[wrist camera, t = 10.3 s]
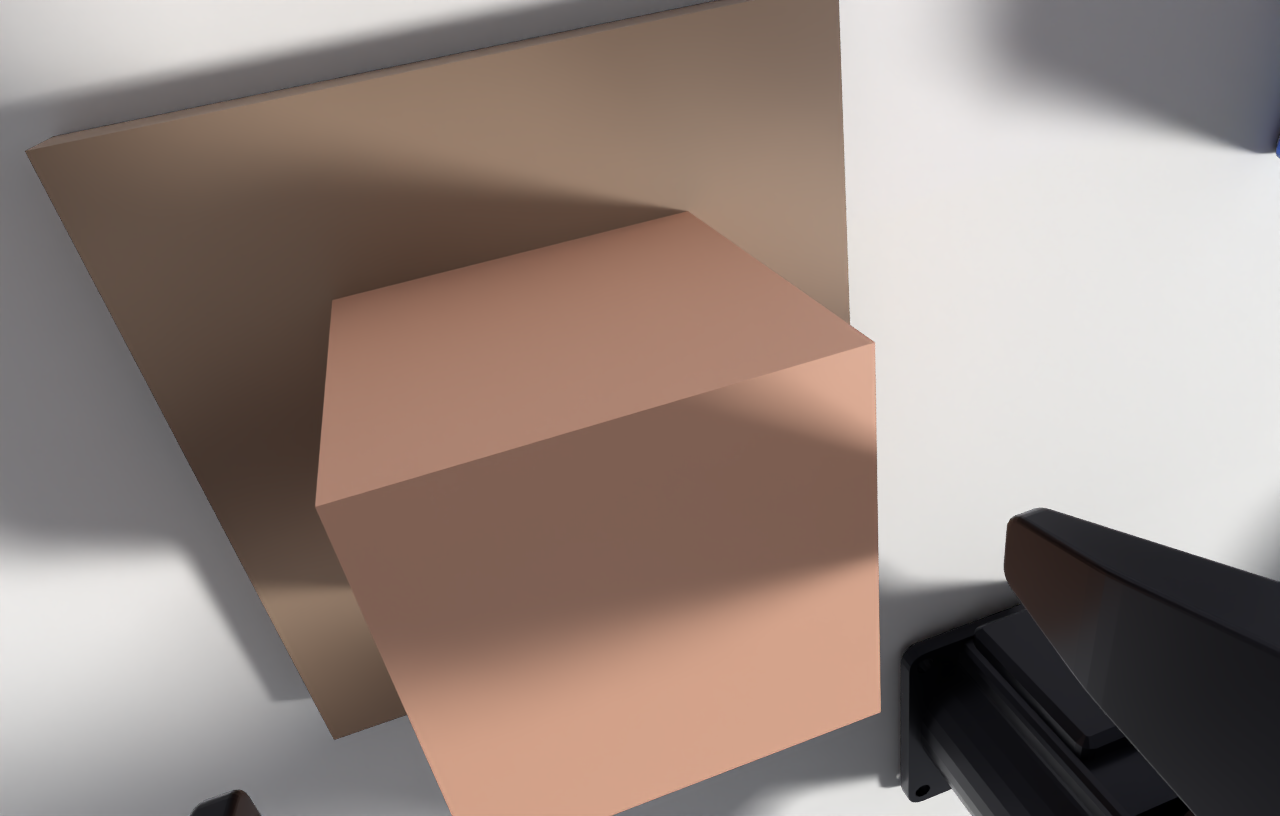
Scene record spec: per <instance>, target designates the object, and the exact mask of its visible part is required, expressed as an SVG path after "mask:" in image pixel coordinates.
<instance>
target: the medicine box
mask: <svg viewBox="0 0 1280 816" xmlns="http://www.w3.org/2000/svg"><path fill="white" fill-rule="evenodd" d="M1276 154H1277V156H1278V157H1279V158H1280V136H1279V139H1278V142H1277V147H1276Z"/></svg>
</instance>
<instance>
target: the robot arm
mask: <svg viewBox="0 0 1280 816" xmlns="http://www.w3.org/2000/svg"><path fill="white" fill-rule="evenodd" d="M1004 573H1005V577H1006V580H1007V582H1008V584H1009V586H1010V587H1011V589H1012V590H1013V592H1014V593H1015V595H1016V596H1017V597H1018V599H1019V600H1020V602H1021V603H1022V604H1021V605H1018V606H1015V607H1013V608H1010V609H1007V610H1005V611H1002V612H999V613H997V614H994V615H991V616H989V617H986V618H983V619H980V620H978V621H975V622H972V623H970V624H967V625H964V626H962V627H959V628H956V629H954V630H951V631H948V632H946V633H943V634H940V635H937V636H935V637H932V638H929V639H927V640H924V641H921V642H919V643H916V644H914V645H913V646H911V647H910V648H909V649H907V650H906V651H905V653H904V655H903V656H902V660H901V787H902V790H903V791H904V793H905V794H906V796H907V797H908V799H909V800H910V801H912V802H920V801H923V800H926V799H928V798H931V797H933V796H936V795H938V794H940V793H943V792H945V791H948V790H950V789H953V791H954V792H955V793H956V795H957V796H958V797H959V799H960V800H961V802H962V803H963V804H964V806H965V807H966V808H967V810H968V811H969V812H970V814H971V815H972V816H1280V582H1278V581H1275V580H1272V579H1269V578H1266V577H1263V576H1259V575H1256V574H1253V573H1250V572H1247V571H1244V570H1240V569H1237V568H1234V567H1231V566H1228V565H1225V564H1221V563H1218V562H1215V561H1212V560H1209V559H1206V558H1203V557H1199V556H1196V555H1193V554H1190V553H1187V552H1184V551H1180V550H1177V549H1174V548H1171V547H1168V546H1165V545H1161V544H1158V543H1155V542H1152V541H1149V540H1146V539H1142V538H1139V537H1136V536H1133V535H1130V534H1127V533H1123V532H1120V531H1117V530H1114V529H1111V528H1108V527H1104V526H1101V525H1098V524H1095V523H1092V522H1089V521H1086V520H1082V519H1079V518H1076V517H1073V516H1070V515H1067V514H1063V513H1060V512H1057V511H1054V510H1051V509H1047V508H1035V509H1032V510H1030V511H1027V512H1024V513H1021V514H1018V515H1015V516H1013V517H1012V518H1011V519H1010V521H1009V522H1008V524H1007V531H1006V543H1005V555H1004ZM190 816H261V814H260V813H259V811H258V810H257V808H256V806H255V805H254V803H253V802H252V800H251V799H250V797H249V796H248V795H247V794H246V793H245V792H244V791H242V790H233V791H230V792H227V793H224V794H222V795H219V796H216V797H213V798H210V799H207V800H205V801H203V802H201V803H200V804H198V805H197V806H196V808H195V809H194V810H193V811H192V812H191V814H190Z"/></svg>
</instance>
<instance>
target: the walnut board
mask: <svg viewBox="0 0 1280 816" xmlns="http://www.w3.org/2000/svg"><path fill="white" fill-rule="evenodd" d="M25 152H26V154H27V156H28V158H29V160H30V162H31V164H32V165H33V167H34V169H35V171H36V173H37V175H38V177H39V179H40V181H41V183H42V185H43V186H44V188H45V190H46V192H47V194H48V196H49V198H50V200H51V202H52V204H53V205H54V207H55V209H56V211H57V213H58V215H59V217H60V219H61V221H62V223H63V225H64V226H65V228H66V230H67V232H68V234H69V236H70V238H71V240H72V242H73V244H74V245H75V247H76V249H77V251H78V253H79V255H80V257H81V259H82V261H83V263H84V265H85V266H86V268H87V270H88V272H89V274H90V276H91V278H92V280H93V282H94V284H95V285H96V287H97V289H98V291H99V293H100V295H101V297H102V299H103V301H104V303H105V305H106V306H107V308H108V310H109V312H110V314H111V316H112V318H113V320H114V322H115V324H116V325H117V327H118V329H119V331H120V333H121V335H122V337H123V339H124V341H125V343H126V345H127V346H128V348H129V350H130V352H131V354H132V356H133V358H134V360H135V362H136V364H137V366H138V367H139V369H140V371H141V373H142V375H143V377H144V379H145V381H146V383H147V385H148V386H149V388H150V390H151V392H152V394H153V396H154V398H155V400H156V402H157V404H158V406H159V407H160V409H161V411H162V413H163V415H164V417H165V419H166V421H167V423H168V425H169V426H170V428H171V430H172V432H173V434H174V436H175V438H176V440H177V442H178V444H179V446H180V447H181V449H182V451H183V453H184V455H185V457H186V459H187V461H188V463H189V465H190V466H191V468H192V470H193V472H194V474H195V476H196V478H197V480H198V482H199V484H200V486H201V487H202V489H203V491H204V493H205V495H206V497H207V499H208V501H209V503H210V505H211V506H212V508H213V510H214V512H215V514H216V516H217V518H218V520H219V522H220V524H221V526H222V527H223V529H224V531H225V533H226V535H227V537H228V539H229V541H230V543H231V545H232V546H233V548H234V550H235V552H236V554H237V556H238V558H239V560H240V562H241V564H242V566H243V567H244V569H245V571H246V573H247V575H248V577H249V579H250V581H251V583H252V585H253V586H254V588H255V590H256V592H257V594H258V596H259V598H260V600H261V602H262V604H263V606H264V607H265V609H266V611H267V613H268V615H269V617H270V619H271V621H272V623H273V625H274V626H275V628H276V630H277V632H278V634H279V636H280V638H281V640H282V642H283V644H284V646H285V647H286V649H287V651H288V653H289V655H290V657H291V659H292V661H293V663H294V665H295V667H296V668H297V670H298V672H299V674H300V676H301V678H302V680H303V682H304V684H305V686H306V687H307V689H308V691H309V693H310V695H311V697H312V699H313V701H314V703H315V705H316V707H317V708H318V710H319V712H320V714H321V716H322V718H323V720H324V722H325V724H326V726H327V727H328V729H329V731H330V733H331V735H332V737H333V739H334V740H335V739H338V738H341V737H344V736H347V735H350V734H353V733H356V732H359V731H361V730H364V729H367V728H370V727H373V726H376V725H379V724H382V723H385V722H387V721H390V720H393V719H396V718H399V717H402V716H405V715H407V713H406V711H405V709H404V706H403V704H402V702H401V700H400V697H399V695H398V693H397V691H396V688H395V686H394V684H393V682H392V679H391V677H390V675H389V673H388V670H387V668H386V666H385V664H384V661H383V659H382V657H381V655H380V652H379V650H378V648H377V646H376V643H375V641H374V639H373V636H372V634H371V632H370V630H369V627H368V625H367V623H366V621H365V618H364V616H363V614H362V612H361V609H360V607H359V605H358V603H357V600H356V598H355V596H354V594H353V591H352V589H351V587H350V585H349V582H348V580H347V578H346V576H345V573H344V571H343V569H342V567H341V564H340V562H339V560H338V558H337V555H336V553H335V551H334V549H333V546H332V544H331V542H330V540H329V537H328V535H327V533H326V531H325V528H324V526H323V524H322V522H321V519H320V517H319V515H318V513H317V510H316V508H315V501H316V489H317V477H318V465H319V453H320V441H321V429H322V417H323V405H324V393H325V381H326V369H327V357H328V345H329V333H330V321H331V309H332V300H335V299H339V298H343V297H347V296H351V295H355V294H359V293H363V292H367V291H371V290H375V289H379V288H383V287H387V286H391V285H395V284H399V283H402V282H406V281H410V280H414V279H418V278H422V277H426V276H430V275H434V274H438V273H442V272H446V271H450V270H454V269H458V268H462V267H466V266H470V265H474V264H478V263H482V262H486V261H490V260H494V259H498V258H502V257H506V256H510V255H514V254H518V253H522V252H526V251H530V250H534V249H538V248H542V247H546V246H550V245H554V244H558V243H562V242H566V241H570V240H574V239H578V238H582V237H586V236H590V235H594V234H598V233H602V232H606V231H610V230H614V229H618V228H622V227H626V226H630V225H634V224H638V223H642V222H646V221H650V220H654V219H658V218H662V217H666V216H670V215H674V214H678V213H682V212H686V211H688V212H690V213H691V214H693V215H694V216H696V217H697V218H698V219H700V220H701V221H703V222H704V223H706V224H707V225H708V226H710V227H711V228H713V229H714V230H716V231H717V232H718V233H720V234H721V235H723V236H724V237H725V238H727V239H728V240H730V241H731V242H733V243H734V244H735V245H737V246H738V247H740V248H741V249H743V250H744V251H745V252H747V253H748V254H750V255H751V256H753V257H754V258H755V259H757V260H758V261H760V262H761V263H762V264H764V265H765V266H767V267H768V268H770V269H771V270H772V271H774V272H775V273H777V274H778V275H780V276H781V277H782V278H784V279H785V280H787V281H788V282H790V283H791V284H792V285H794V286H795V287H797V288H798V289H800V290H801V291H802V292H804V293H805V294H807V295H808V296H809V297H811V298H812V299H814V300H815V301H817V302H818V303H819V304H821V305H822V306H824V307H825V308H827V309H828V310H829V311H831V312H832V313H834V314H835V315H837V316H838V317H839V318H841V319H842V320H844V321H845V322H846V323H848V324H849V325H850V312H849V283H848V254H847V225H846V196H845V167H844V138H843V109H842V80H841V51H840V22H839V0H716V1H711V2H706V3H702V4H697V5H692V6H687V7H682V8H677V9H672V10H668V11H663V12H658V13H653V14H648V15H643V16H638V17H633V18H629V19H624V20H619V21H614V22H609V23H604V24H599V25H594V26H590V27H585V28H580V29H575V30H570V31H565V32H560V33H555V34H551V35H546V36H541V37H536V38H531V39H526V40H521V41H516V42H512V43H507V44H502V45H497V46H492V47H487V48H482V49H477V50H473V51H468V52H463V53H458V54H453V55H448V56H443V57H438V58H434V59H429V60H424V61H419V62H414V63H409V64H404V65H399V66H395V67H390V68H385V69H380V70H375V71H370V72H365V73H360V74H356V75H351V76H346V77H341V78H336V79H331V80H326V81H321V82H317V83H312V84H307V85H302V86H297V87H292V88H287V89H282V90H278V91H273V92H268V93H263V94H258V95H253V96H248V97H243V98H239V99H234V100H229V101H224V102H219V103H214V104H209V105H204V106H200V107H195V108H190V109H185V110H180V111H175V112H170V113H165V114H161V115H156V116H151V117H146V118H141V119H136V120H131V121H126V122H122V123H117V124H112V125H107V126H102V127H97V128H92V129H88V130H83V131H78V132H73V133H68V134H63V135H58V136H53V137H51V138H49V139H48V140H46V141H44V142H42V143H40V144H38V145H36V146H34V147H32V148H30V149H28V150H26V151H25Z"/></svg>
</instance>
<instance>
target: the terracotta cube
mask: <svg viewBox="0 0 1280 816" xmlns="http://www.w3.org/2000/svg"><path fill="white" fill-rule="evenodd" d="M315 508H316V510H317V513H318V515H319V517H320V519H321V522H322V524H323V526H324V528H325V531H326V533H327V535H328V537H329V540H330V542H331V544H332V546H333V549H334V551H335V553H336V555H337V558H338V560H339V562H340V564H341V567H342V569H343V571H344V573H345V576H346V578H347V580H348V582H349V585H350V587H351V589H352V591H353V594H354V596H355V598H356V600H357V603H358V605H359V607H360V609H361V612H362V614H363V616H364V618H365V621H366V623H367V625H368V627H369V630H370V632H371V634H372V636H373V639H374V641H375V643H376V646H377V648H378V650H379V652H380V655H381V657H382V659H383V661H384V664H385V666H386V668H387V670H388V673H389V675H390V677H391V679H392V682H393V684H394V686H395V688H396V691H397V693H398V695H399V697H400V700H401V702H402V704H403V706H404V709H405V711H406V713H407V715H408V718H409V720H410V722H411V724H412V727H413V729H414V731H415V733H416V736H417V738H418V740H419V742H420V745H421V747H422V749H423V751H424V754H425V756H426V758H427V760H428V763H429V765H430V767H431V769H432V772H433V774H434V776H435V778H436V781H437V783H438V785H439V787H440V790H441V792H442V794H443V797H444V799H445V801H446V803H447V806H448V808H449V810H450V812H451V815H452V816H612V815H614V814H617V813H620V812H622V811H625V810H627V809H630V808H633V807H635V806H638V805H640V804H643V803H646V802H648V801H651V800H653V799H656V798H659V797H661V796H664V795H666V794H669V793H672V792H674V791H677V790H680V789H682V788H685V787H687V786H690V785H693V784H695V783H698V782H700V781H703V780H706V779H708V778H711V777H713V776H716V775H719V774H721V773H724V772H726V771H729V770H732V769H734V768H737V767H739V766H742V765H745V764H747V763H750V762H752V761H755V760H758V759H760V758H763V757H765V756H768V755H771V754H773V753H776V752H778V751H781V750H784V749H786V748H789V747H791V746H794V745H797V744H799V743H802V742H805V741H807V740H810V739H812V738H815V737H818V736H820V735H823V734H825V733H828V732H831V731H833V730H836V729H838V728H841V727H844V726H846V725H849V724H851V723H854V722H857V721H859V720H862V719H864V718H867V717H870V716H872V715H875V714H877V713H880V712H881V690H880V628H879V566H878V504H877V443H876V381H875V342H874V341H872V340H871V339H869V338H868V337H866V336H865V335H864V334H862V333H861V332H859V331H858V330H856V329H855V328H854V327H852V326H851V325H849V324H848V323H846V322H845V321H844V320H842V319H841V318H839V317H838V316H837V315H835V314H834V313H832V312H831V311H829V310H828V309H827V308H825V307H824V306H822V305H821V304H819V303H818V302H817V301H815V300H814V299H812V298H811V297H809V296H808V295H807V294H805V293H804V292H802V291H801V290H800V289H798V288H797V287H795V286H794V285H792V284H791V283H790V282H788V281H787V280H785V279H784V278H782V277H781V276H780V275H778V274H777V273H775V272H774V271H772V270H771V269H770V268H768V267H767V266H765V265H764V264H762V263H761V262H760V261H758V260H757V259H755V258H754V257H753V256H751V255H750V254H748V253H747V252H745V251H744V250H743V249H741V248H740V247H738V246H737V245H735V244H734V243H733V242H731V241H730V240H728V239H727V238H725V237H724V236H723V235H721V234H720V233H718V232H717V231H716V230H714V229H713V228H711V227H710V226H708V225H707V224H706V223H704V222H703V221H701V220H700V219H698V218H697V217H696V216H694V215H693V214H691V213H690V212H688V211H686V212H682V213H678V214H674V215H670V216H666V217H662V218H658V219H654V220H650V221H646V222H642V223H638V224H634V225H630V226H626V227H622V228H618V229H614V230H610V231H606V232H602V233H598V234H594V235H590V236H586V237H582V238H578V239H574V240H570V241H566V242H562V243H558V244H554V245H550V246H546V247H542V248H538V249H534V250H530V251H526V252H522V253H518V254H514V255H510V256H506V257H502V258H498V259H494V260H490V261H486V262H482V263H478V264H474V265H470V266H466V267H462V268H458V269H454V270H450V271H446V272H442V273H438V274H434V275H430V276H426V277H422V278H418V279H414V280H410V281H406V282H402V283H399V284H395V285H391V286H387V287H383V288H379V289H375V290H371V291H367V292H363V293H359V294H355V295H351V296H347V297H343V298H339V299H335V300H332V309H331V321H330V333H329V345H328V357H327V369H326V381H325V393H324V405H323V417H322V429H321V441H320V453H319V465H318V477H317V489H316V501H315Z"/></svg>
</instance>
